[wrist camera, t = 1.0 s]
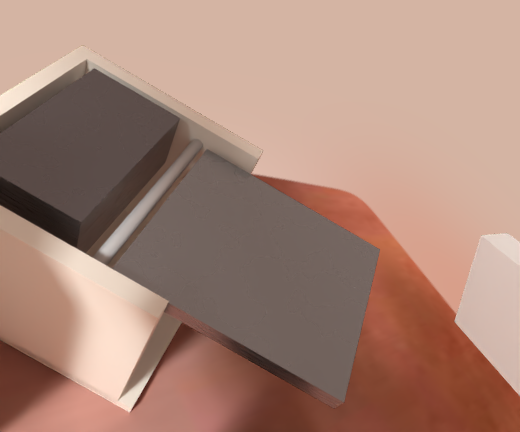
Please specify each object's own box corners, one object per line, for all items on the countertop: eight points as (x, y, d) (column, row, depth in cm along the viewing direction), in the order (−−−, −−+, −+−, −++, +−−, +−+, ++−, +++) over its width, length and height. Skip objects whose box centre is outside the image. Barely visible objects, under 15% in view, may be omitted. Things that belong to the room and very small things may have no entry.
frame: (-74, 299, 29) (-113, 164, 20) (67, 173, 39) (82, 44, 30) (129, 412, 30) (177, 329, 21) (218, 259, 39) (276, 158, 31)
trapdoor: (-36, 215, 24) (-43, 162, 21) (91, 113, 32) (99, 64, 29) (320, 417, 25) (360, 392, 22) (360, 269, 32) (393, 236, 29)
